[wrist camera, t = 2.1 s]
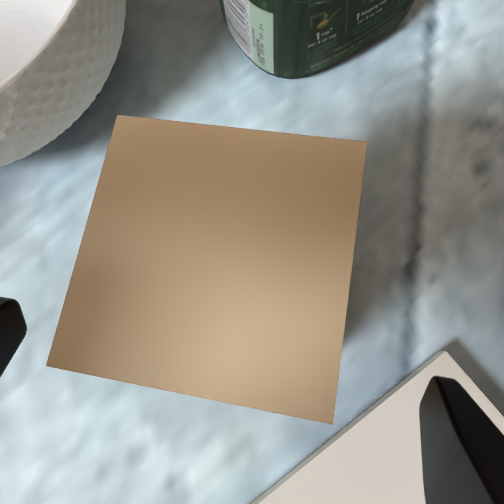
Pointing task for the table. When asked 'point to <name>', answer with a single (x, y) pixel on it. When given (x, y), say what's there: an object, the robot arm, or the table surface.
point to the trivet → (376, 449)
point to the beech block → (217, 265)
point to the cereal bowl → (52, 66)
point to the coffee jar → (308, 31)
